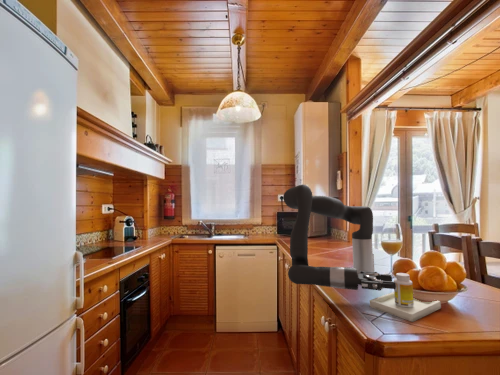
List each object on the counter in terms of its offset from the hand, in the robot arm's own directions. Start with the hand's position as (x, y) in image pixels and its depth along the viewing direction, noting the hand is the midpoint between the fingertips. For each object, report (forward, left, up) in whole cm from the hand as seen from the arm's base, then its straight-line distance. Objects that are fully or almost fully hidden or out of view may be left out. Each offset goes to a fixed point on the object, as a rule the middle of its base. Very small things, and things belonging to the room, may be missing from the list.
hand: (393, 281), depth 92 cm
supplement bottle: (-2, +2, -8) cm, 8 cm away
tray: (-2, +2, -8) cm, 9 cm away
